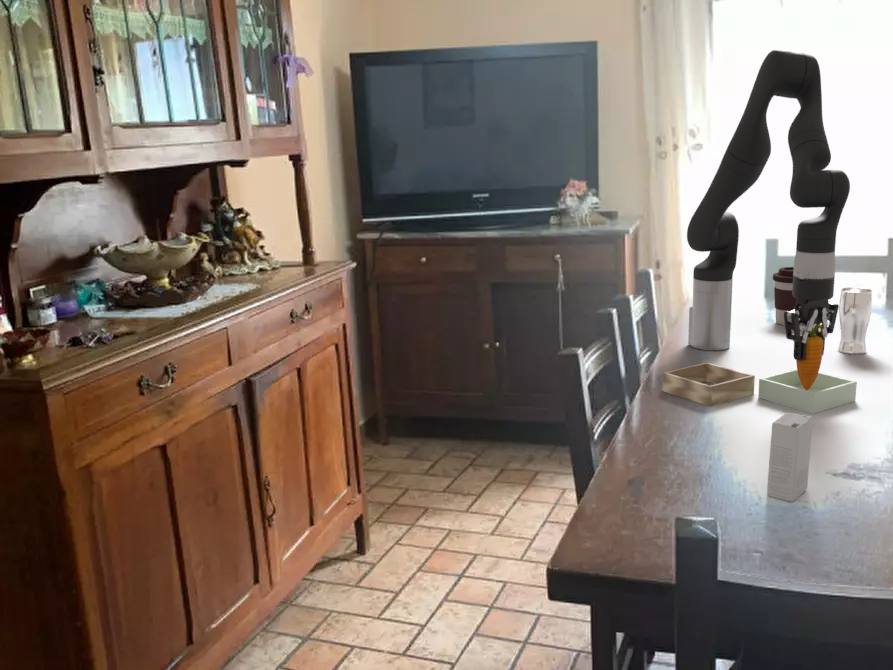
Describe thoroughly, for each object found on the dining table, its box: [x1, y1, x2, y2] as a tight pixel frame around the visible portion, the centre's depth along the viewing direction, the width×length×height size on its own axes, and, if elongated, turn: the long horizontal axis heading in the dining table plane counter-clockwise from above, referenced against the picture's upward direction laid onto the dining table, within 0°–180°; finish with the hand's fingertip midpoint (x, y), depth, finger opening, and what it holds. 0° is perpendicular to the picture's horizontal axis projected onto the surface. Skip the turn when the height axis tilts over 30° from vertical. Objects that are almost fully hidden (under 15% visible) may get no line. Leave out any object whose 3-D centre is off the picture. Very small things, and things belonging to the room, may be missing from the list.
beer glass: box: [837, 286, 873, 355], centre depth 215 cm, size 7×7×15 cm
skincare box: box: [766, 412, 814, 503], centre depth 138 cm, size 6×4×12 cm
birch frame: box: [662, 362, 756, 407], centre depth 189 cm, size 13×13×4 cm
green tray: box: [757, 368, 858, 415], centre depth 182 cm, size 13×13×4 cm
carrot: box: [795, 321, 823, 391], centre depth 181 cm, size 5×5×15 cm
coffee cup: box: [772, 266, 803, 326], centre depth 245 cm, size 10×10×15 cm
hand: (808, 357), depth 181 cm, fingers closed on carrot, 5 cm apart
